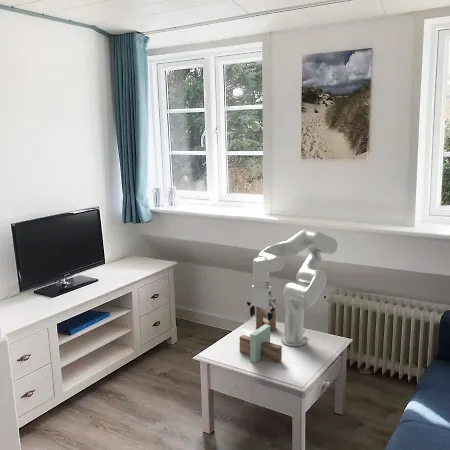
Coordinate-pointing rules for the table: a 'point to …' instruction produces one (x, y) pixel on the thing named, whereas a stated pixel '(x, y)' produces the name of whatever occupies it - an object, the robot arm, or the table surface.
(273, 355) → the walnut slotted plate
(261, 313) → the wooden block
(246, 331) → the table surface
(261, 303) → the robot arm
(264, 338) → the green slotted board
